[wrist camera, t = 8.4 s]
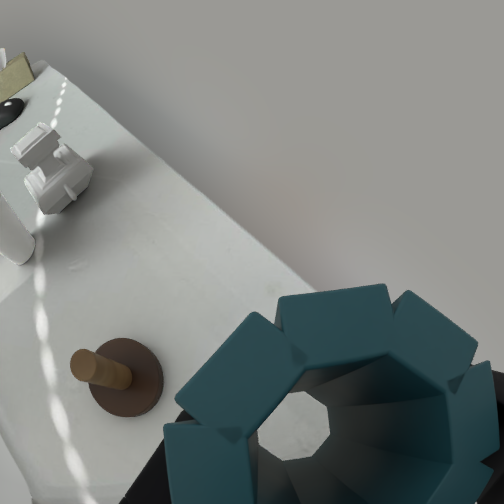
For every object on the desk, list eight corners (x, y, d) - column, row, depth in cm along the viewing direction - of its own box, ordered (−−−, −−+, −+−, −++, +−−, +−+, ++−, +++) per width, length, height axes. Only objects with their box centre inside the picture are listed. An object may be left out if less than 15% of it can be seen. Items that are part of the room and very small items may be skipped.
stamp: (108, 189, 27) (75, 125, 19) (60, 235, 24) (14, 178, 17) (74, 159, 30) (45, 106, 22) (33, 196, 27) (-3, 147, 20)
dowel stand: (175, 404, 17) (142, 402, 12) (107, 424, 16) (58, 424, 11) (149, 330, 20) (113, 301, 15) (86, 353, 19) (38, 331, 14)
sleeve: (359, 468, 11) (496, 523, 2) (235, 488, 11) (193, 605, 2) (345, 358, 14) (464, 267, 5) (224, 373, 14) (158, 304, 5)
